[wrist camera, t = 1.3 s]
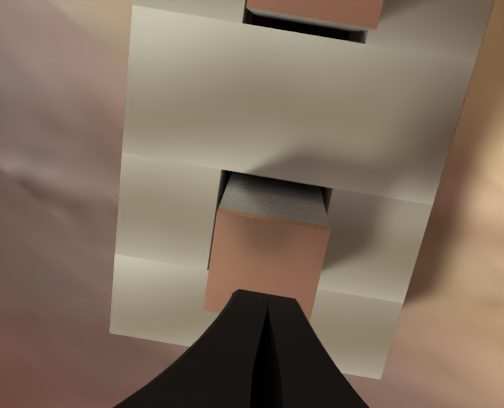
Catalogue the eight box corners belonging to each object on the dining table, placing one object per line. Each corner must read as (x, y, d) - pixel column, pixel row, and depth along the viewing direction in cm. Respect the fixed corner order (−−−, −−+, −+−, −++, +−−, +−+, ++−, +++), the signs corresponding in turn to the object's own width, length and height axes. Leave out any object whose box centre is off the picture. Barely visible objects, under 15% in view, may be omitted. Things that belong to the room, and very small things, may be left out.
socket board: (185, -214, 15) (153, -296, 12) (494, -163, 15) (563, -229, 12) (140, 280, 21) (109, 332, 18) (363, 319, 21) (380, 379, 18)
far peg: (232, 171, 16) (217, 211, 13) (319, 186, 16) (330, 230, 13) (220, 251, 17) (202, 310, 14) (302, 265, 17) (308, 328, 14)
